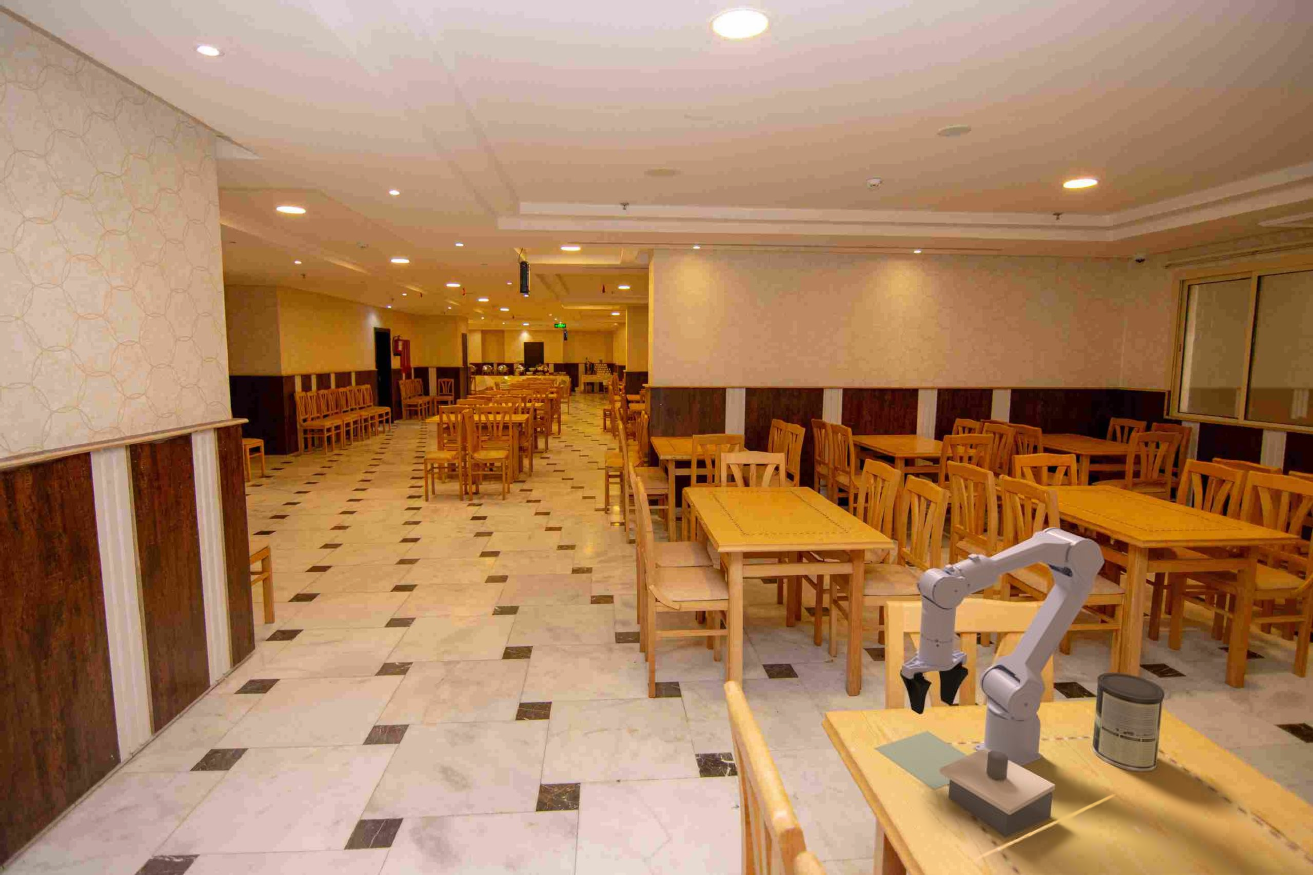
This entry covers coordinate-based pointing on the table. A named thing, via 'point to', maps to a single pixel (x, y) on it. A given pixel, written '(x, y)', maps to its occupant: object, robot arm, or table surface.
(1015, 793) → the lid
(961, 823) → the table surface
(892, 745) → the mat
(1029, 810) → the dish
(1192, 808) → the table surface
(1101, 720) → the coffee can
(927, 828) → the table surface
